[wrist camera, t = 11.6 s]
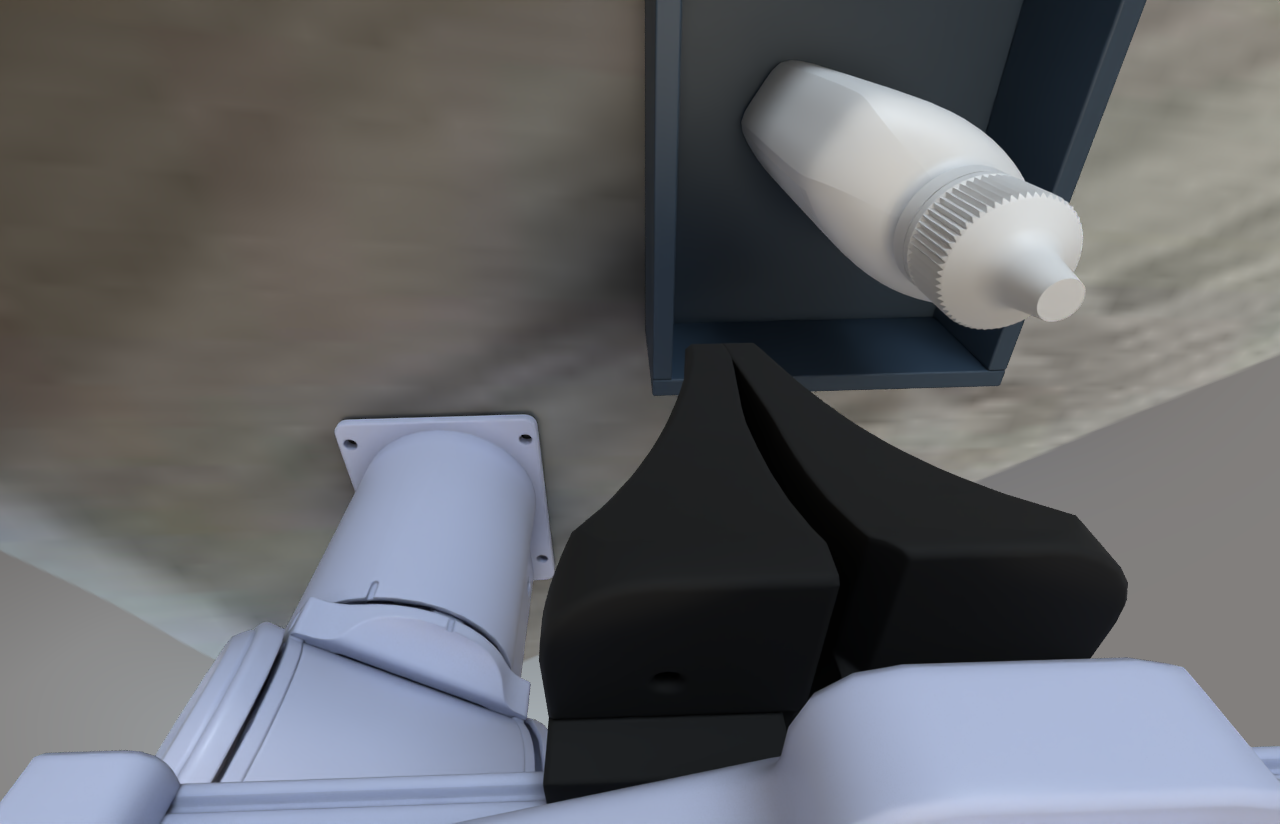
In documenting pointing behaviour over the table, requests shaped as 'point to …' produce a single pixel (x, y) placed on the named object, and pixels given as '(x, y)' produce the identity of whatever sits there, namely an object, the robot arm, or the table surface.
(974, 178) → the eye dropper bottle
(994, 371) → the bin
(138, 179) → the table surface
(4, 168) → the table surface
